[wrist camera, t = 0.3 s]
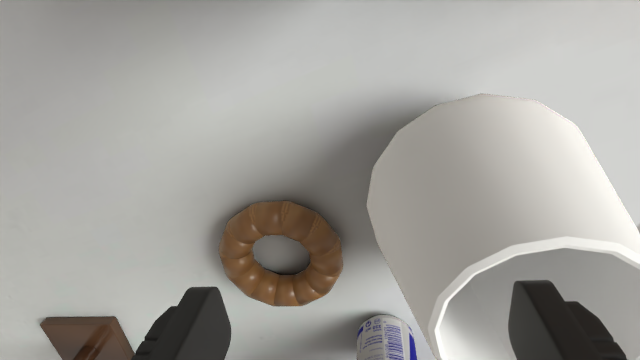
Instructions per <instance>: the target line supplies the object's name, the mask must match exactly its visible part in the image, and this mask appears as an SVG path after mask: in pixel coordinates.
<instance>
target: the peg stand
mask: <svg viewBox="0 0 640 360" xmlns="http://www.w3.org/2000/svg"><path fill="white" fill-rule="evenodd" d="M40 326H41V327H42V329H43V331H44V332H45V334H46V335H47V337H48V338H49V340H50V341H51V343H52V344H53V346H54V347H55V349H56V350H57V352H58V353H59V355H60V356H61V358H62V360H131V359H132V357H133V356H135V354H134V352H133V350H132V348H131V346H130V344H129V342H128V340H127V338H126V336H125V334H124V332H123V330H122V329H121V327H120V325H119V323H118V321H117V319H116V317H54V318H46V319H45V320H44V321H43V322H42V323H41V324H40Z"/></svg>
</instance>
